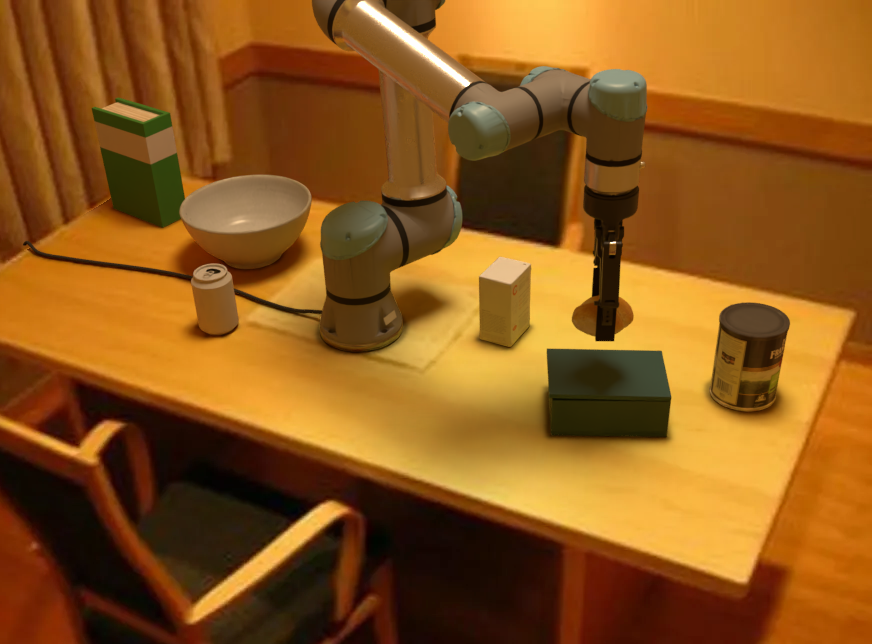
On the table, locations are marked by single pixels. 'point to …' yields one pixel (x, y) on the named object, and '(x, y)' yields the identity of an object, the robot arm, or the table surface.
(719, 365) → the coffee can
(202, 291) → the can
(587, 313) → the bread roll
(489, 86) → the robot arm
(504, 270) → the small box
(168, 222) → the hardback book
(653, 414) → the box
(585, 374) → the lunchbox lid
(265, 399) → the table surface
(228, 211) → the decorative bowl
